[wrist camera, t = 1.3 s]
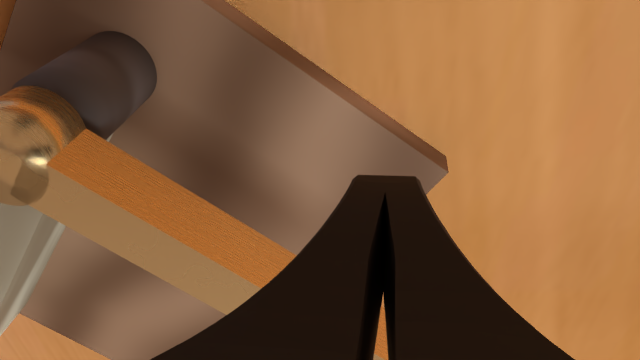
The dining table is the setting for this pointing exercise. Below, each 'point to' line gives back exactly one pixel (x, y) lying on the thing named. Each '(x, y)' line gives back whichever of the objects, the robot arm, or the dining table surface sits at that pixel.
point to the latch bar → (131, 206)
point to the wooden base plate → (182, 152)
